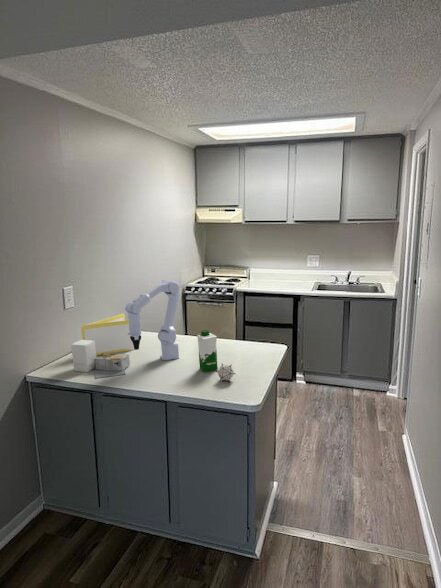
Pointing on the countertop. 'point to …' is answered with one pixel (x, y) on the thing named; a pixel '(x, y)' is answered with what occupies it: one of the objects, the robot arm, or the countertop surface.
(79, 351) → the supplement box
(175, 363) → the countertop surface
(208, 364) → the milk carton
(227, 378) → the spiky ball ornament
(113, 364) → the coffee box
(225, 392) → the countertop surface
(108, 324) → the yellow rectangular frame
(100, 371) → the mat
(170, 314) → the robot arm
